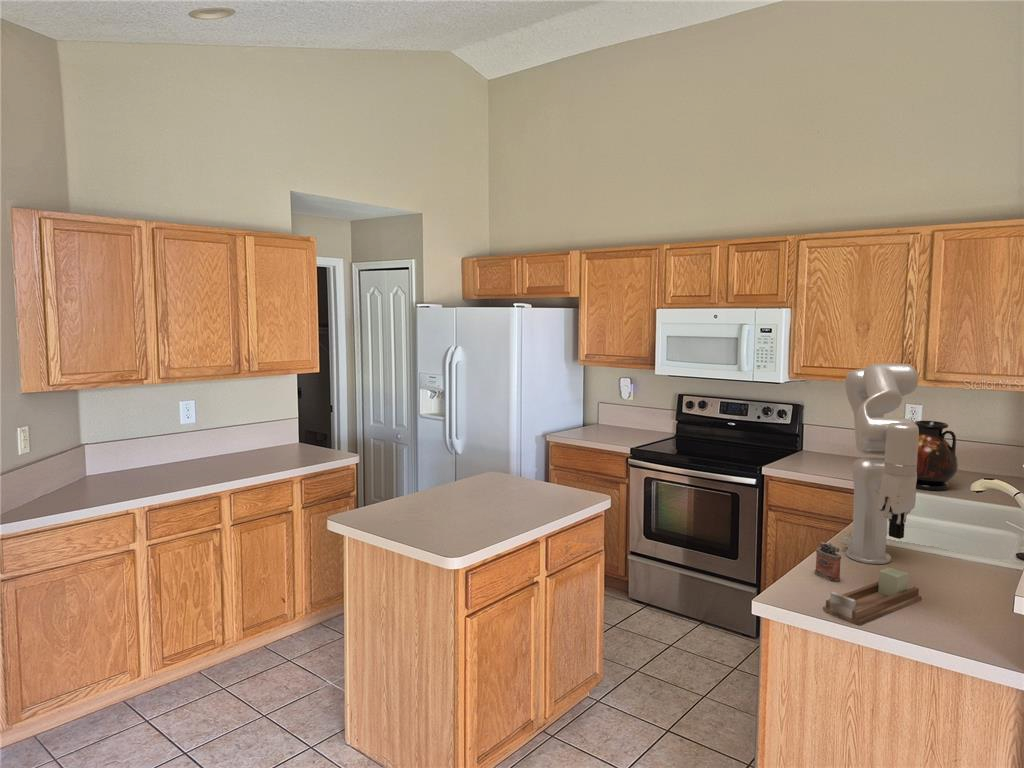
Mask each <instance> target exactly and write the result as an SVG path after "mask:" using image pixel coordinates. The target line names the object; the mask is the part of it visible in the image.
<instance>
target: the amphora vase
mask: <svg viewBox="0 0 1024 768" xmlns="http://www.w3.org/2000/svg"><path fill="white" fill-rule="evenodd" d="M914 422H915V423H916V425H917V426H918V429H919V439H918V455H917V483H916V490H917V489H919V490H924V491H932V492H933V491H936V492H937V491H938V492H939V491H945V490H948V489H949V488H950V483H949V481H950V480H951V479H953V478H954V477H955V476H956V474H957V472H958V468H959V467H958V465H959V463H958V457H957V455H956V450H957V449H956V446H957V435H956V434H955V432H954V431H952V430H945V431H943V430H944V429H947V428H949V424H948V423H946V422H941V421H935V420H915V421H914ZM947 434H950V435H951V438H952V442H951V443H952V444H951V445H950V443H949V442H948V441H947V440H946V438H945V437H946V435H947Z"/></svg>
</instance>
